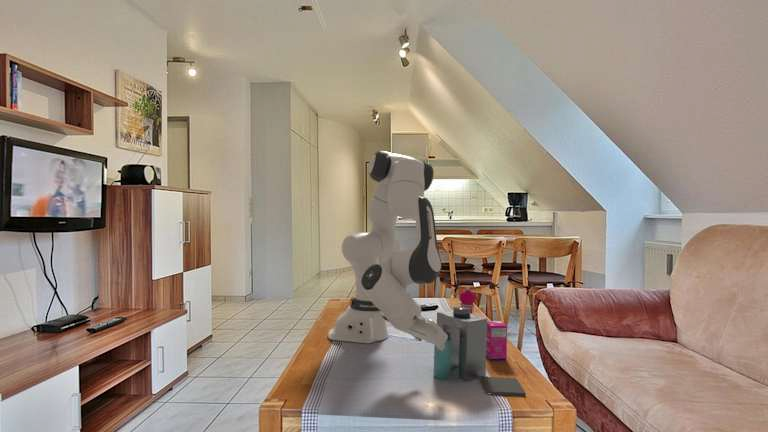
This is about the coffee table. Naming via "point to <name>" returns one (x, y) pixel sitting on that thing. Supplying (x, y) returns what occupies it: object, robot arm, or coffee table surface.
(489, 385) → the mat
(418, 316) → the robot arm
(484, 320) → the housing
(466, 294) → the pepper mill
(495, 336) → the supplement box
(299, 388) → the coffee table surface
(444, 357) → the teal cylindrical piece
